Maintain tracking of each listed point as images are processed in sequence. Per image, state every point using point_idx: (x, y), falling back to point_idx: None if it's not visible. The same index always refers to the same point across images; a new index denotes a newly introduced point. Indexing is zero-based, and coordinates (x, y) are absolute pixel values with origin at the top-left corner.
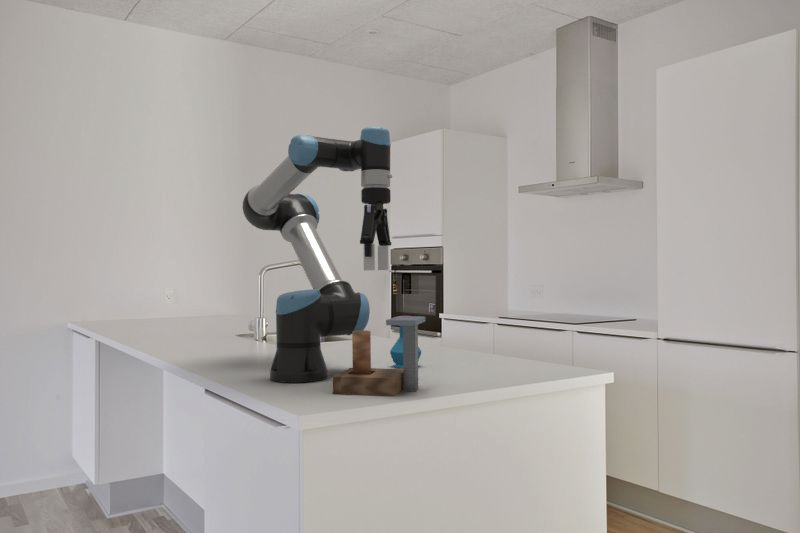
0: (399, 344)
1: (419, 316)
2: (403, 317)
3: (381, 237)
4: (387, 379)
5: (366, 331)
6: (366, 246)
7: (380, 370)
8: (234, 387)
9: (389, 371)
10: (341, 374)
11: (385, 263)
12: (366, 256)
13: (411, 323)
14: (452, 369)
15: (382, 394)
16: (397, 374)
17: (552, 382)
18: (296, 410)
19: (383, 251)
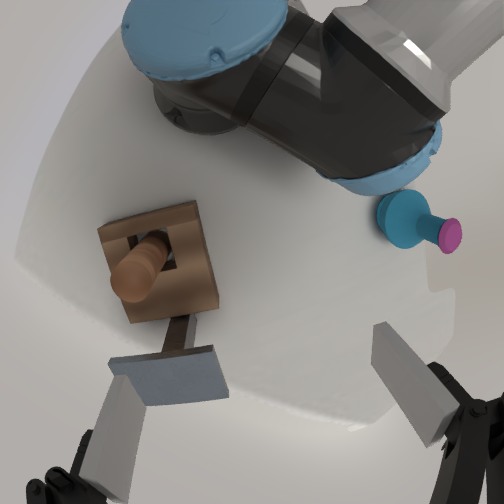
0: (402, 217)
1: (225, 389)
2: (184, 373)
3: (443, 479)
4: (126, 313)
5: (132, 295)
6: (75, 473)
7: (185, 272)
8: (100, 55)
9: (183, 291)
10: (119, 231)
11: (385, 375)
12: (90, 434)
13: None
14: (380, 294)
15: None
16: (162, 314)
17: (304, 416)
18: (23, 240)
19: (417, 411)
